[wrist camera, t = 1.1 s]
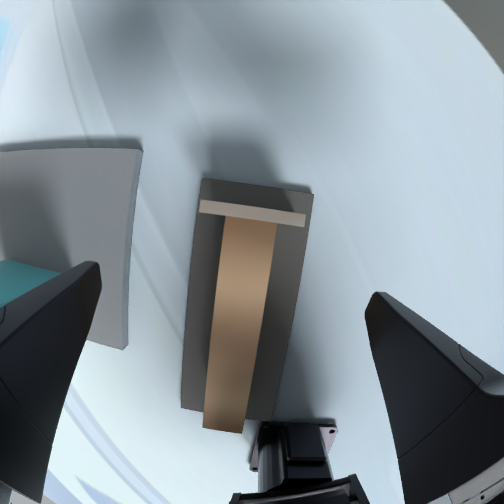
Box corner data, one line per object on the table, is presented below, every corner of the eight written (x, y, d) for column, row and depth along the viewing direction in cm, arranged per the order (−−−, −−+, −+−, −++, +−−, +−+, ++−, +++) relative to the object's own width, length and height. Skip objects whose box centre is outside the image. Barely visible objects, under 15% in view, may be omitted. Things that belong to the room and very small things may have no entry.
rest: (270, 417, 21) (270, 421, 20) (182, 404, 21) (180, 407, 20) (312, 194, 18) (313, 194, 18) (203, 179, 18) (202, 178, 18)
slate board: (128, 344, 20) (122, 350, 19) (-5, 299, 20) (-11, 302, 19) (143, 151, 18) (137, 149, 17) (0, 153, 18) (-7, 152, 17)
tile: (76, 297, 19) (4, 335, 11) (9, 277, 19) (-57, 299, 11) (76, 275, 19) (0, 305, 11) (9, 258, 19) (-60, 275, 11)
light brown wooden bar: (261, 401, 20) (261, 439, 16) (194, 390, 20) (181, 427, 16) (294, 213, 18) (306, 214, 14) (214, 202, 18) (200, 199, 14)
